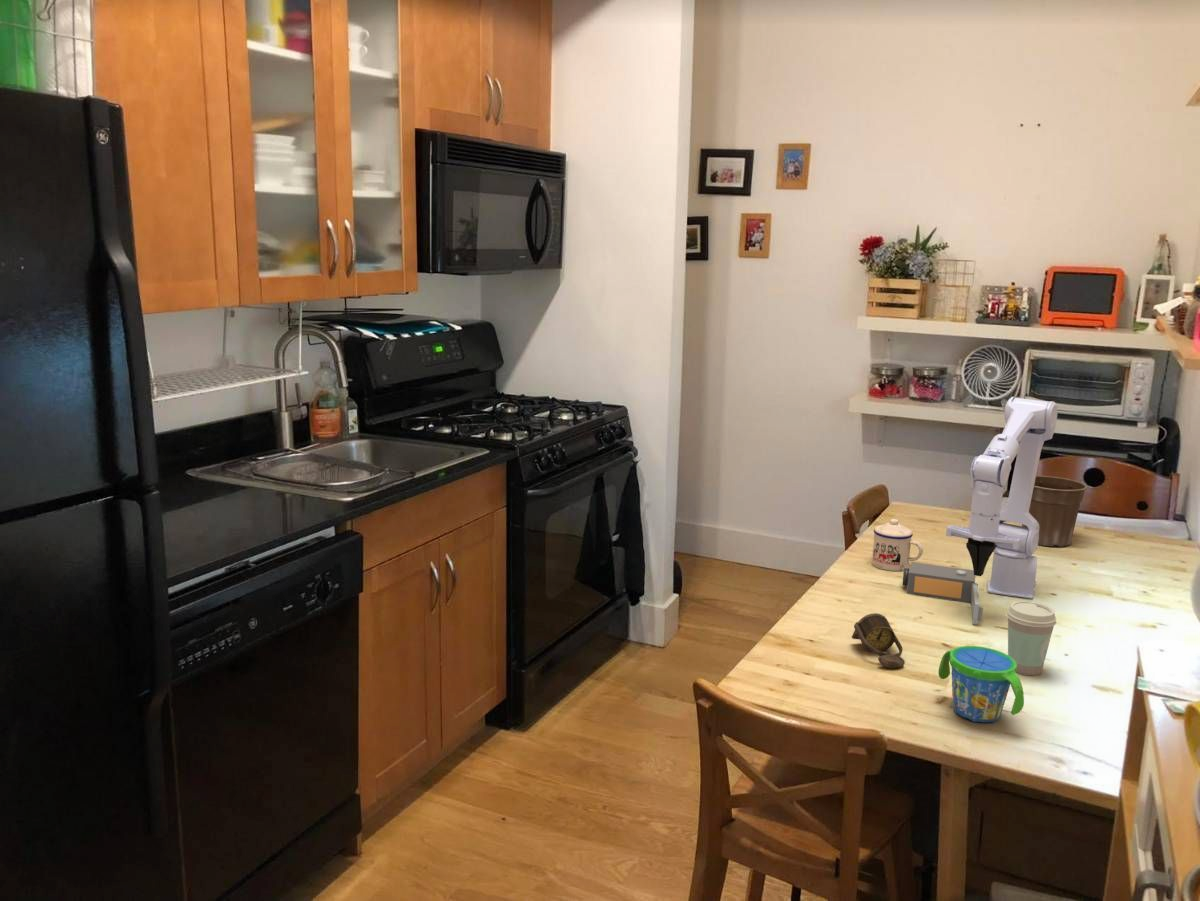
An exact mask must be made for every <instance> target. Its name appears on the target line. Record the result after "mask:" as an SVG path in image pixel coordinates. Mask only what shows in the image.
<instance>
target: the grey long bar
mask: <svg viewBox="0 0 1200 901" xmlns="http://www.w3.org/2000/svg"><path fill="white" fill-rule="evenodd" d="M978 588H979V583H977V582H975V583H972V591H971V600H970V603H969V604H971V615H972V617H971V618H972V624H973V625H978V622H982V620H983V619H982V618H983V610H984V607H983V606H982V605H980V599H979V589H978Z"/></svg>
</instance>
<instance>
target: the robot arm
mask: <svg viewBox="0 0 1200 901" xmlns="http://www.w3.org/2000/svg"><path fill="white" fill-rule="evenodd" d="M1057 420H1058V405H1057V403H1056V402H1055V401H1052V400H1051V401H1045V400H1038V399H1032V398H1031V399H1030V398H1022V397H1016V396H1011V397H1010V398H1009V399H1008V400H1007V402H1006V404H1005V408H1004V421H1005V425H1004V426H1005V427H1004V428H1003V430H1002V433H998V434H996V435H995V436H993V438H992V439H991V441H990V443H989V444H988V445H987V446H986V449H985V450H984V452H983V454H980V455H979V456H975V457H974V458H973V460H972V462H971V467H970V471H969V472H970V474H969V475H970V481H971V484H970V490H972V498H971V506H970V515H969V516H970V517H969V525H968V526H969V527H967V526H966V527H965V526H958V525H948V526H946V532H945V536H947V537H956V538H960V539H965V540H967V542H966V543H965V544H966V549H967V551H968V554H969V555H970V560H971V563H972V568H973V569H972V570H974V575H975V577H976V576H977V577H982V576H983V575H984V573H985V569H986V567H987V563H988V561H989V559H990V558H991V556H992V555H993V556H992V564H991V565H992V566H991V574H990V579H989V580H988V581H987V593H988V594H996V595H1002V596H1010V597H1018V598H1024V599H1031V600H1032V599H1034V593H1035V589H1036V585H1037V584H1036V583H1037V581H1036V575H1037V569H1038V568H1037V567H1038V557H1037V556H1036V555H1034V554H1035V553H1036V551H1037V548H1038V546H1039V545H1038V540H1039V523H1038V522H1037V521H1036V519H1035V518H1034V517H1033V516H1032V515H1031V514H1030V513H1029V508H1030V503H1031V498H1032V493H1033V488H1034V483H1035V478H1036V476H1037V473H1038V472H1037V471H1038V467H1039V463H1040V459H1041V458H1040V457H1041V452H1042V448H1043V445H1044V443H1045V441H1049V440H1052V439H1053V436H1054V433H1055V429H1056V426H1057ZM1015 458H1016V460H1015ZM1014 460H1015V463H1014V469H1013V474H1012V479H1011V484H1010V488H1009V493H1008V499H1007V503H1006V507H1005V508H1004V509H1003V510H1001V509H1002V503H1003V492H1004V486H1005V485H1006V484H1007V482H1008V480H1009V476H1010V472H1011V470H1012V463H1013V462H1014ZM1006 522H1010V523H1006ZM1011 523H1015V524H1011ZM1016 524H1021V525H1016ZM1022 524H1024V525H1026V526H1027V527H1028V528H1027V527H1022Z"/></svg>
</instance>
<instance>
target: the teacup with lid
mask: <svg viewBox="0 0 1200 901" xmlns="http://www.w3.org/2000/svg"><path fill="white" fill-rule="evenodd" d="M873 533H874V534H873V536H874V537H873V547H872V556H871V557H872V558H871V559H872V560H871V563H872V564H871V565H872V566H874V567H876V568H877V569H880V570H883V571H888V572H901V571H904V568H908V569H909V568H910V562H915V561H918V560H919V559H920V558H921V557H922V555H923V553H924V552H923V551H924V548H923V546H922V544H921V543H920V542H919V541H917V540H912V537H913V535H914V534H913V532H912V529H910V528H908V527H906V526H905V525H902V524H901V523H899V520H898V519H896V518H891V519H889V522H885V523H884V524H879V525H876V526H875V527H874V529H873ZM911 545H915V546H916V547H917V548H918V554H917V556H916V557H910V555H911Z"/></svg>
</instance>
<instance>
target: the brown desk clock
mask: <svg viewBox="0 0 1200 901" xmlns="http://www.w3.org/2000/svg"><path fill="white" fill-rule="evenodd" d="M853 628H854V630H853V632H852V636H851V638H852V640H859V641H860V642H861V644H862V646H863V647H864V649H865V650H866V651H867V652H870V653H873V654H875V655H877V656H879V657H878V658H877V660H878V662H879V664H880V665H881V666H883V667H884V668H887V669H898V668H901V667H903V666H904V665H905V664H906V662H905V659H904V658H902V657H901V655H902V654H903V650H904V648H903V646H902V644H901V642H900V641H899V639H898V637H897V635H896V633H895V631H894V630H893V628H892V626H891V624H890V622H889V620H888V619H887V618H886V616H885V615H883V614H880V613H877V612H876V613H870V614H869V613H868V614H866V615H864V616H863V617H861V618H860V619H859V620H858V621H856V622H855V623H854V625H853ZM894 644H895V645H896V648H897V649H898V652H897V653H887V652H886V651H887V650H889V649H890V648H892V646H893V645H894Z"/></svg>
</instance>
